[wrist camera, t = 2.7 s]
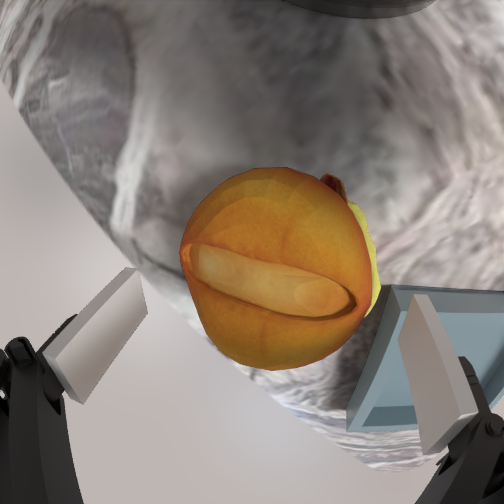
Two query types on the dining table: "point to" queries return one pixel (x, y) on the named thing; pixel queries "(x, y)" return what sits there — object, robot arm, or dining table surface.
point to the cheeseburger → (279, 267)
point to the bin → (392, 366)
